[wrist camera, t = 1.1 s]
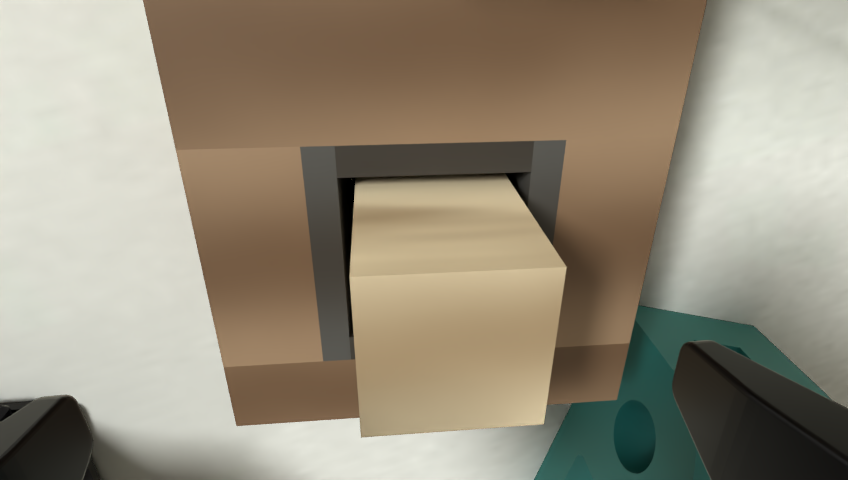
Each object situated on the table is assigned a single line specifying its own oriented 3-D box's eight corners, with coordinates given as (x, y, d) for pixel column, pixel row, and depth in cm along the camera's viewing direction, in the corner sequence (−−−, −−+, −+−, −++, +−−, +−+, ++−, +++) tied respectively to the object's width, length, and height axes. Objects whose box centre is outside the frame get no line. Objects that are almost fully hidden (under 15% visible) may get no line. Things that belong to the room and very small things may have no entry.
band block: (557, 297, 22) (616, 400, 17) (269, 312, 21) (236, 426, 16) (669, -494, 12) (896, -840, 7) (133, -536, 11) (-73, -978, 6)
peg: (490, 286, 17) (543, 424, 12) (363, 292, 16) (361, 437, 11) (499, 165, 15) (566, 266, 10) (355, 169, 15) (349, 277, 9)
